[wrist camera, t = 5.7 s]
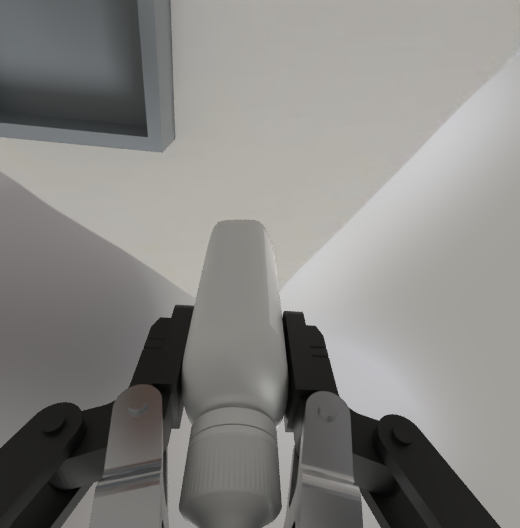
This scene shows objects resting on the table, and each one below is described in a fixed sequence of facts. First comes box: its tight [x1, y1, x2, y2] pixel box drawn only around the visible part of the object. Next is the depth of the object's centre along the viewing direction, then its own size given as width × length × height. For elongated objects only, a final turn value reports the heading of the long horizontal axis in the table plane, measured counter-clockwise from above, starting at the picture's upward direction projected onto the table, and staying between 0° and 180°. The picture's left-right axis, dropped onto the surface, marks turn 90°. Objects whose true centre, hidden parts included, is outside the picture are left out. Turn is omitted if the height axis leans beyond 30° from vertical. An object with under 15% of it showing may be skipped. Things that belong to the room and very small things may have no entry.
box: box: [0, 0, 175, 153], centre depth 22 cm, size 16×16×5 cm
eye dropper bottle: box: [179, 220, 289, 528], centre depth 11 cm, size 4×6×12 cm
